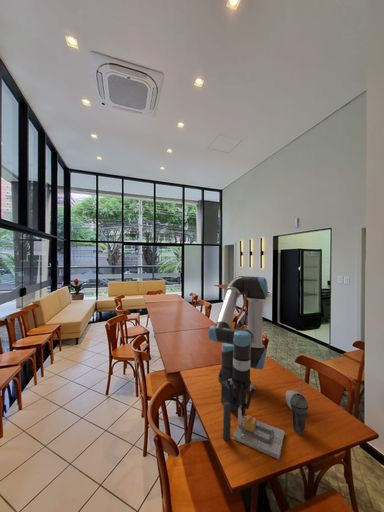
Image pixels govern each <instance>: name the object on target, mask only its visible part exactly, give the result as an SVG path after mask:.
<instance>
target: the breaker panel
mask: <svg viewBox="0 0 384 512" xmlns="http://www.w3.org/2000/svg"><path fill="white" fill-rule="evenodd" d="M246 416H247V415H244V416H243V422H242V423H241V424H239V423H238V425H237V427H236V429H235V431H234V433H233V435H232V438H233V440H234V441H236V442H239V443H242V444H244V445H246V446H248V447H250V448H253V449H254V450H257V451H259V452H261V453H264V454H266V455H268V456H271V457H273V458H274V459H276V460H280V458H281V453H282V448H283V444H284V438H285V430H283V429H280V428H278V427H275V426H272V425H269V424H267V423H264V422H262V421H259V420H257V419H256V428H255V431H254V433H252V432H249V431H247V430H244V420H245V418H246Z"/></svg>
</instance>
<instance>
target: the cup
mask: <svg viewBox="0 0 384 512" xmlns="http://www.w3.org/2000/svg"><path fill="white" fill-rule="evenodd" d="M295 393H299V394H300V392H298V391H296V390H287V391H286V392H285V401H286V404H287V406H288V407H289V409H290V410H291V404H290V399H291V397H292V395H293V394H295Z"/></svg>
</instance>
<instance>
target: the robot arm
mask: <svg viewBox="0 0 384 512" xmlns="http://www.w3.org/2000/svg"><path fill="white" fill-rule="evenodd" d="M241 295H244V296H245V298H246V300H247V301H248V303H247V305H248V306H247V327H245V328H242V329H241V328H239V329H238V328H232V327H231V325H232V322H233V318H234V314H235V310H236V307H237V302H238V299H239V298H240V297H241ZM266 297H269V288H268V281H267V279H266V277H263V276H247V275H246V276H243V275H239V276H236V277H234V278H233V279H232V280H231V281H229V282H228V284H227V285H226V287H225V289H224V297H223V301H222V304H221V308H220V310H219V314H218V317H217V319H216V322H215V325H210V326H209V329H208V333H207V335H208V339H209V340H210V341H212V342H216V343H222V345H221V358H220V359H221V364H220V365H221V367H220V370H219V372H218V376H217V378H218V379H217V380H218V382H219V383H220V384H222V382H223V381H227V384H228V386H229V390H230V395H231V401H232V404H235V405H236V409H235V414H236V413H237V414H238V417H237V424H238V425H239V424H241V423H242V422H243V416H246V410H248V409H249V408H250V406H251V403H252V399H253V396H254V395H253V394H254V393H255V391H256V390H257V386H256V385H253V384H252V381H251V369H254V370H260V371H262V370H264V368H265V365H266V359H267V353H268V349H266V348H265V345H264V344H263V340H262V339H263V313H264V311H263V306H264V302H265V301H266ZM233 383H234V385H235V387H236V396H235V391H234V386H233ZM240 389H241V393H242V405H240V403H241V402H240ZM247 389H249V392H248V393H249V394H248V396H247Z"/></svg>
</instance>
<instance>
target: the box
mask: <svg viewBox="0 0 384 512" xmlns="http://www.w3.org/2000/svg"><path fill="white" fill-rule="evenodd" d="M233 386H234V391H235V396H236V387H235V385H234V383H233ZM220 387H221V390H220V392H221V394H220V395H221V398H220V401H221V404H223V405H224V403H225V402H229V403H230V404H231V411H234V410H236V405H235V404H232V401H231V395H230V390H229V386H228V384H227V381H223V382H222V383H221V385H220Z"/></svg>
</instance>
